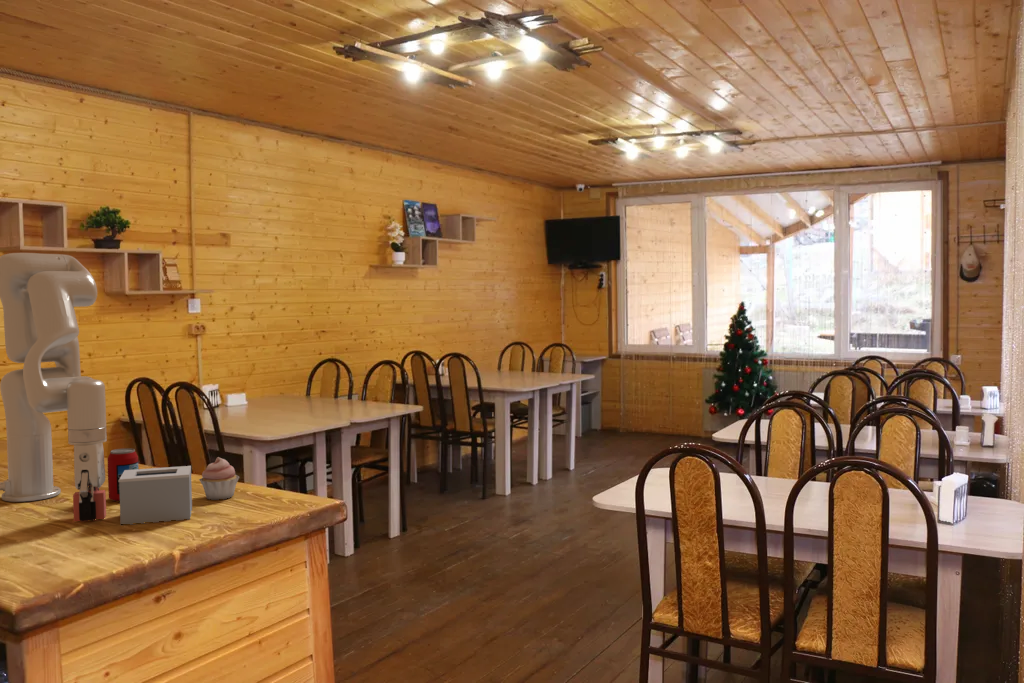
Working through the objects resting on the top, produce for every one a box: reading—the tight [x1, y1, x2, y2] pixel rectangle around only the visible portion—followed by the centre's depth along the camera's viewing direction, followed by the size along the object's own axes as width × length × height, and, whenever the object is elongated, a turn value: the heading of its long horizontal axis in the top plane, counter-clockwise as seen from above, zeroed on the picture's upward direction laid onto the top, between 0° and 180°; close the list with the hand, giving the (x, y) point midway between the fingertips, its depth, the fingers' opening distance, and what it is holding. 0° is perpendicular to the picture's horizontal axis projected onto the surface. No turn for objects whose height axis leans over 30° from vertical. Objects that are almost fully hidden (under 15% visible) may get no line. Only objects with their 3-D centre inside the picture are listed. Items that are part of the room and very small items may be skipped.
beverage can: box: [107, 447, 139, 502], centre depth 198 cm, size 7×7×12 cm
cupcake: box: [198, 456, 240, 501], centre depth 200 cm, size 9×9×10 cm
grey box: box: [119, 465, 193, 525], centre depth 183 cm, size 14×10×10 cm
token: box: [72, 489, 107, 522], centre depth 181 cm, size 6×3×6 cm, turn 109°
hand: (90, 515), depth 181 cm, fingers open, 5 cm apart
